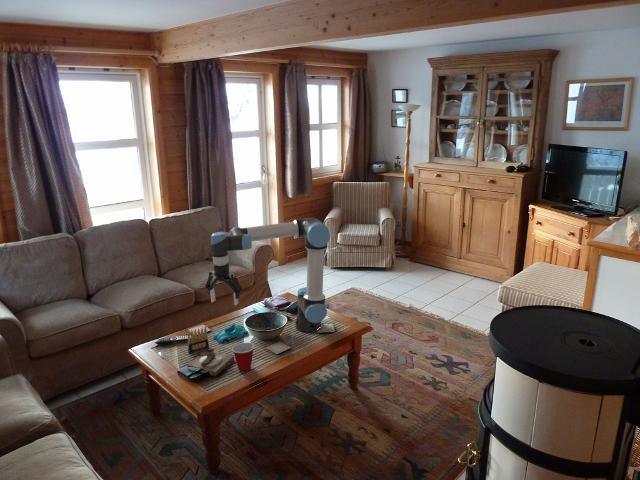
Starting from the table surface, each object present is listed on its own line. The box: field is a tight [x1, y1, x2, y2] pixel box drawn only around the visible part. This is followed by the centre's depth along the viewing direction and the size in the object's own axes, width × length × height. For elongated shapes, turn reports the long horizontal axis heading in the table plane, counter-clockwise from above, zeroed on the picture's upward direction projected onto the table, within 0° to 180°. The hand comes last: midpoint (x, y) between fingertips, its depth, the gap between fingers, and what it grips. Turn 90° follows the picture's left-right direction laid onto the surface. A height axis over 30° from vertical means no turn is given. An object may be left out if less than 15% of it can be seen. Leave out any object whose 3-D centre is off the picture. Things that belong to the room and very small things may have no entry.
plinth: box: [187, 351, 235, 377], centre depth 235 cm, size 16×16×3 cm
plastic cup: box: [231, 342, 255, 373], centre depth 229 cm, size 11×11×12 cm
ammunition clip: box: [187, 326, 210, 354], centre depth 248 cm, size 11×2×12 cm, turn 123°
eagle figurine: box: [196, 346, 220, 366], centre depth 232 cm, size 8×7×9 cm
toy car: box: [212, 323, 249, 344], centre depth 263 cm, size 11×18×7 cm, turn 128°
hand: (224, 302), depth 244 cm, fingers open, 13 cm apart
